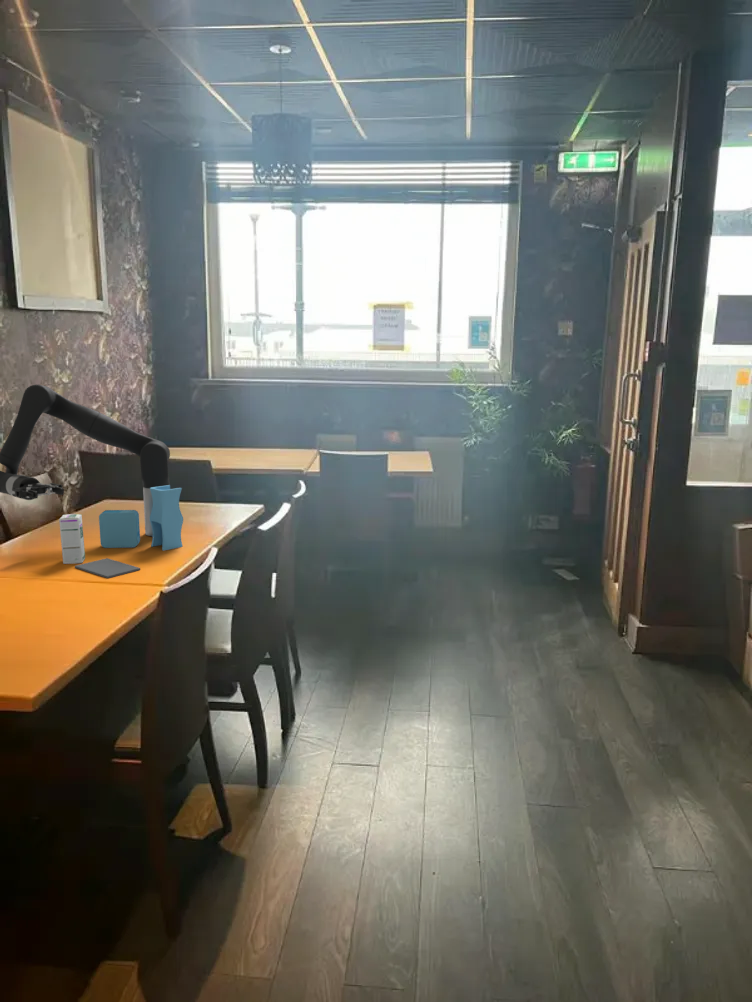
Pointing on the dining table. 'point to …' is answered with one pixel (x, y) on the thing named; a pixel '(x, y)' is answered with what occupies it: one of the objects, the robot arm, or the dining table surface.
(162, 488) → the blue wavy stand
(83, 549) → the syrup box
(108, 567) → the mat
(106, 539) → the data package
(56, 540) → the dining table surface
